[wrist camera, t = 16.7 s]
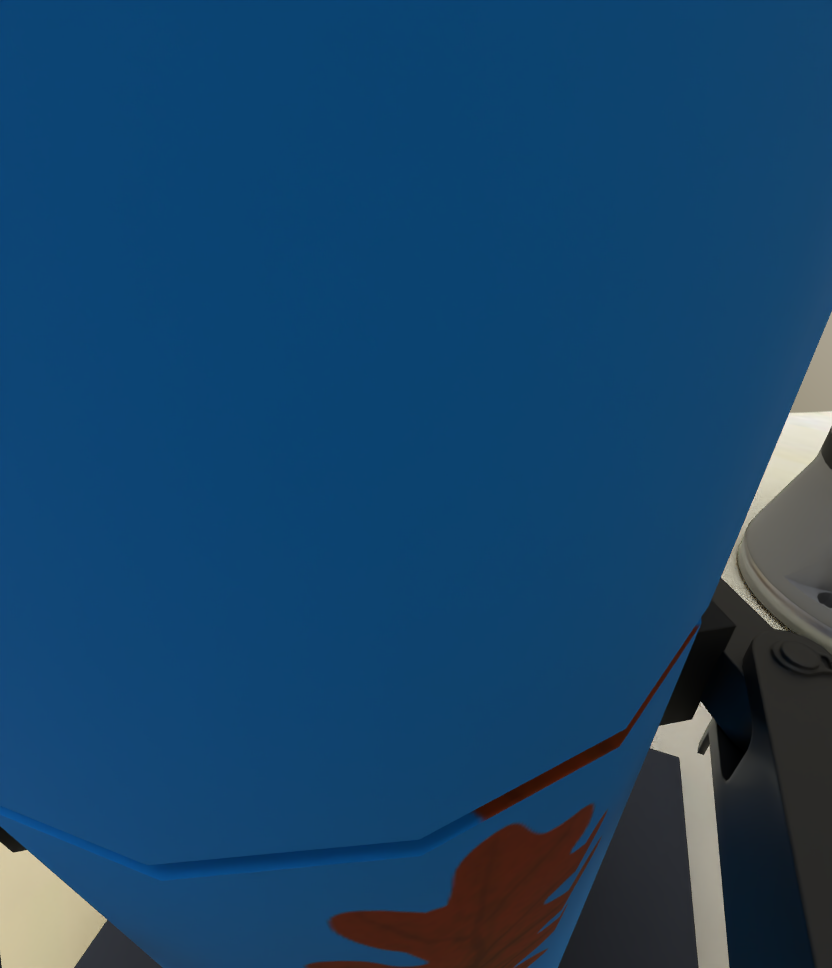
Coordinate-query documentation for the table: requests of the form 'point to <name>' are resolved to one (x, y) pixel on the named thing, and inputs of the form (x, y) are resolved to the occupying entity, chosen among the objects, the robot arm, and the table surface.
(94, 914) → the table surface
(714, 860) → the table surface
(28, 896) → the table surface
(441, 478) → the thermos
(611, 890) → the desk mat
